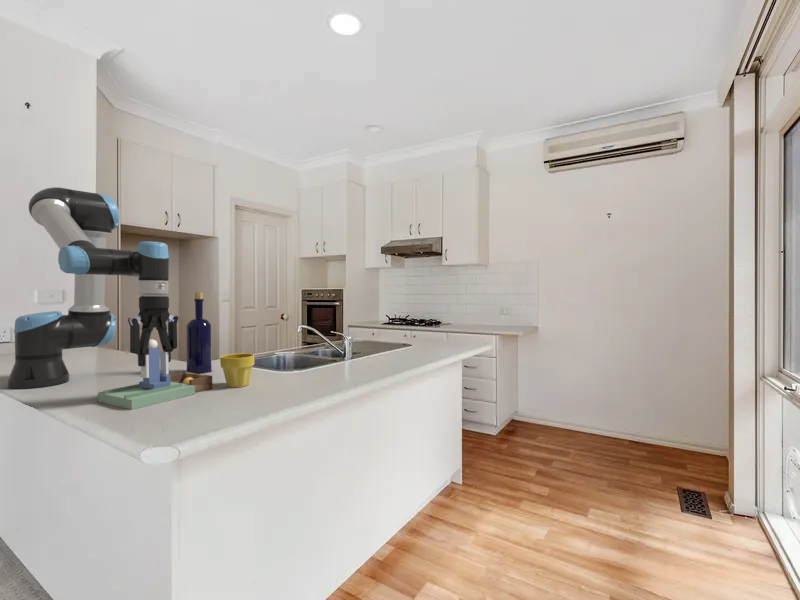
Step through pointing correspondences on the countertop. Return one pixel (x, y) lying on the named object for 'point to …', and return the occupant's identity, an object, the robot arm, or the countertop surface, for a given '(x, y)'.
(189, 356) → the bottle
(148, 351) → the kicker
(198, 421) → the countertop surface
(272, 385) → the countertop surface
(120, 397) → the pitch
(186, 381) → the ball
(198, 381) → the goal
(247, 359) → the plant pot
